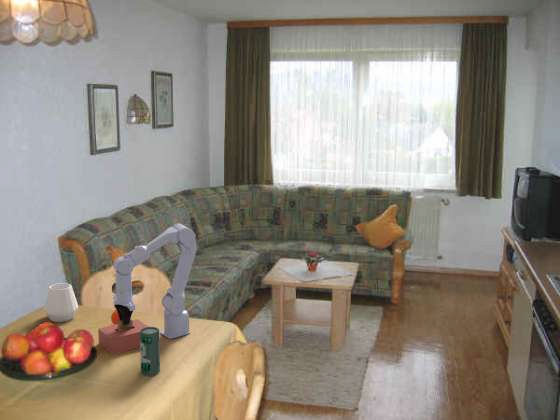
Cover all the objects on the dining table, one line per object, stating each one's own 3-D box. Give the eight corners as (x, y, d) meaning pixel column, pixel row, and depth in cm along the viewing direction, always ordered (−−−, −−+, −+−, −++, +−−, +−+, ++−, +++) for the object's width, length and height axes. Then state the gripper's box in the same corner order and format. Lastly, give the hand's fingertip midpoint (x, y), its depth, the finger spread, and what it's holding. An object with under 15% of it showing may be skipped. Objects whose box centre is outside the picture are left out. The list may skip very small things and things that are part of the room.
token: (129, 330, 216) (130, 318, 215) (132, 332, 215) (132, 320, 214) (117, 333, 213) (117, 320, 212) (119, 335, 212) (119, 322, 211)
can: (139, 369, 195) (138, 328, 192) (157, 366, 197) (156, 325, 194) (143, 377, 189) (142, 335, 186) (161, 374, 192) (160, 332, 189)
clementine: (134, 325, 232) (133, 309, 231) (121, 330, 226) (120, 314, 225) (120, 321, 236) (120, 304, 235) (107, 326, 231) (107, 309, 229)
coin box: (137, 333, 224) (137, 319, 223) (152, 343, 215) (151, 328, 214) (98, 343, 214) (98, 328, 213) (112, 354, 205) (111, 339, 204)
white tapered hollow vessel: (71, 324, 232) (70, 291, 229) (39, 323, 232) (37, 290, 229) (83, 312, 245) (81, 281, 242) (52, 311, 245) (50, 280, 242)
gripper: (105, 285, 214) (106, 319, 216) (122, 296, 203) (123, 331, 205) (123, 282, 218) (124, 315, 221) (140, 292, 207) (141, 327, 210)
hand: (124, 323), depth 213 cm, fingers closed on token, 2 cm apart
